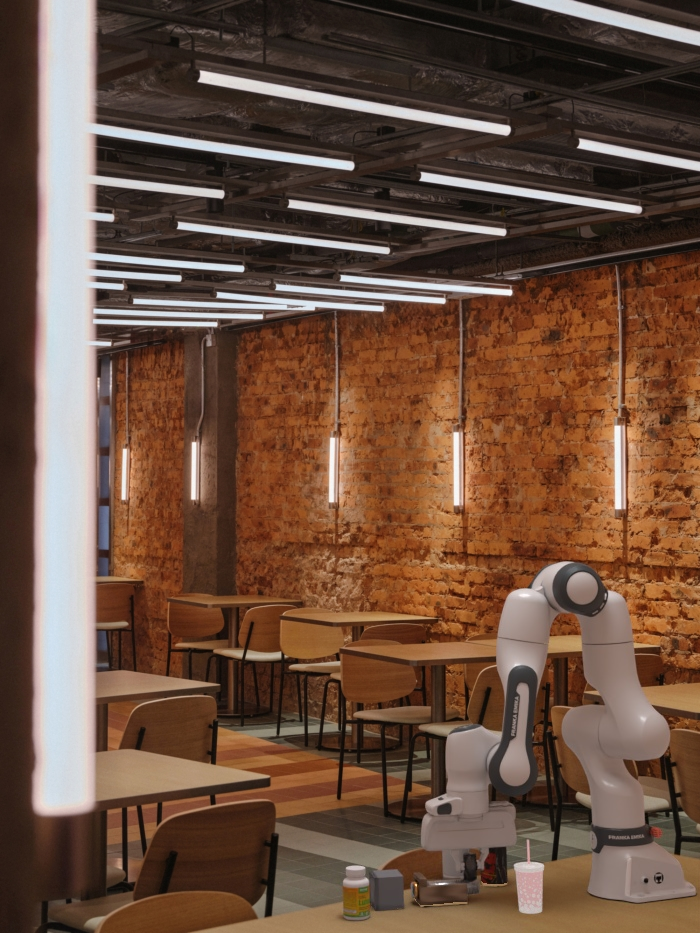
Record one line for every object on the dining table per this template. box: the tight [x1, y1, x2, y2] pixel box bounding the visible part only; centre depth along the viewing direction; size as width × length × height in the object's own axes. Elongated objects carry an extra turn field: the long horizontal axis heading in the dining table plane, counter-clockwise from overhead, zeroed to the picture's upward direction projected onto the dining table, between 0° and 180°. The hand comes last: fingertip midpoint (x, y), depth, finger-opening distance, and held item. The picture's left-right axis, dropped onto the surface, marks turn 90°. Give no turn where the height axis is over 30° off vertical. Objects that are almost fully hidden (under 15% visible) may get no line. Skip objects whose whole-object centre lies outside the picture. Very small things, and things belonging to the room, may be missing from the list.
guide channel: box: [412, 871, 469, 905], centre depth 253 cm, size 10×6×6 cm, turn 99°
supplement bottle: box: [342, 865, 371, 921], centre depth 243 cm, size 5×5×10 cm
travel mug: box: [440, 791, 471, 879], centre depth 272 cm, size 6×7×20 cm
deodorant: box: [479, 847, 509, 884], centre depth 268 cm, size 6×6×15 cm
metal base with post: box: [410, 852, 480, 899], centre depth 254 cm, size 14×3×8 cm, turn 99°
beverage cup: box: [513, 839, 545, 915], centre depth 245 cm, size 6×6×14 cm
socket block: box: [368, 869, 405, 912], centre depth 251 cm, size 6×6×6 cm
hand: (470, 870), depth 255 cm, fingers closed on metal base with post, 3 cm apart
